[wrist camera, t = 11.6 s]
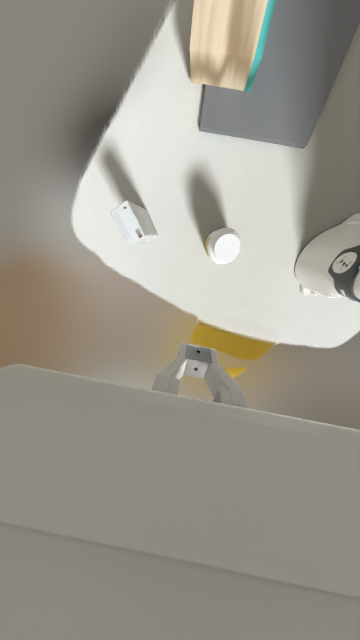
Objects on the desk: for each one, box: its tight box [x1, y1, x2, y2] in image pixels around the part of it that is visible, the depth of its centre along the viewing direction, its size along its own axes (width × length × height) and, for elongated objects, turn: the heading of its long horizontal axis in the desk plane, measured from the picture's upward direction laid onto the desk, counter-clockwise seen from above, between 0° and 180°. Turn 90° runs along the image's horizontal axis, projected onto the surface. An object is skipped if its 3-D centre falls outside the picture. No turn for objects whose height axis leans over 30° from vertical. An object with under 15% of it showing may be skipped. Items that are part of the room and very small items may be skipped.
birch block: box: [190, 0, 276, 92], centre depth 19 cm, size 5×5×10 cm
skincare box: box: [110, 200, 158, 245], centre depth 30 cm, size 6×4×12 cm
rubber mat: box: [200, 0, 360, 148], centre depth 22 cm, size 20×13×1 cm, turn 81°
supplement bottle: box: [205, 228, 241, 264], centre depth 30 cm, size 7×7×13 cm
